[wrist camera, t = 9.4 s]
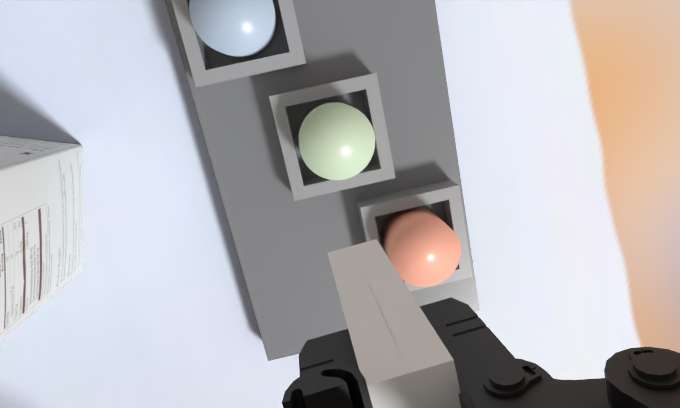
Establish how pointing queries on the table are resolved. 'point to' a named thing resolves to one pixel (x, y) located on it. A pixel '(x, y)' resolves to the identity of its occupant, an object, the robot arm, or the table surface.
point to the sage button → (336, 140)
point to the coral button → (421, 246)
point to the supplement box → (38, 224)
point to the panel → (294, 175)
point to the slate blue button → (234, 25)
